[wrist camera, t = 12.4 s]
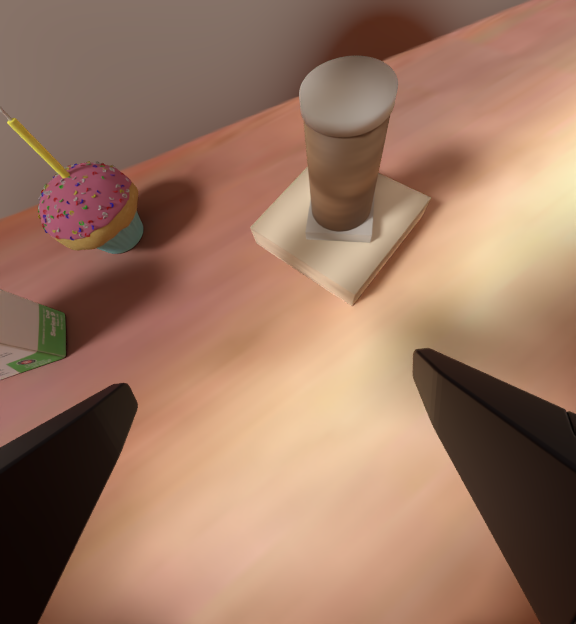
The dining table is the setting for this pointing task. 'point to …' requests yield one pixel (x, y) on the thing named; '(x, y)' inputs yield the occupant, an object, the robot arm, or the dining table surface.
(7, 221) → the dining table surface
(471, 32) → the dining table surface
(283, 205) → the birch block
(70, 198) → the cupcake
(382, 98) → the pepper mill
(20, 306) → the ink box
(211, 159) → the dining table surface
